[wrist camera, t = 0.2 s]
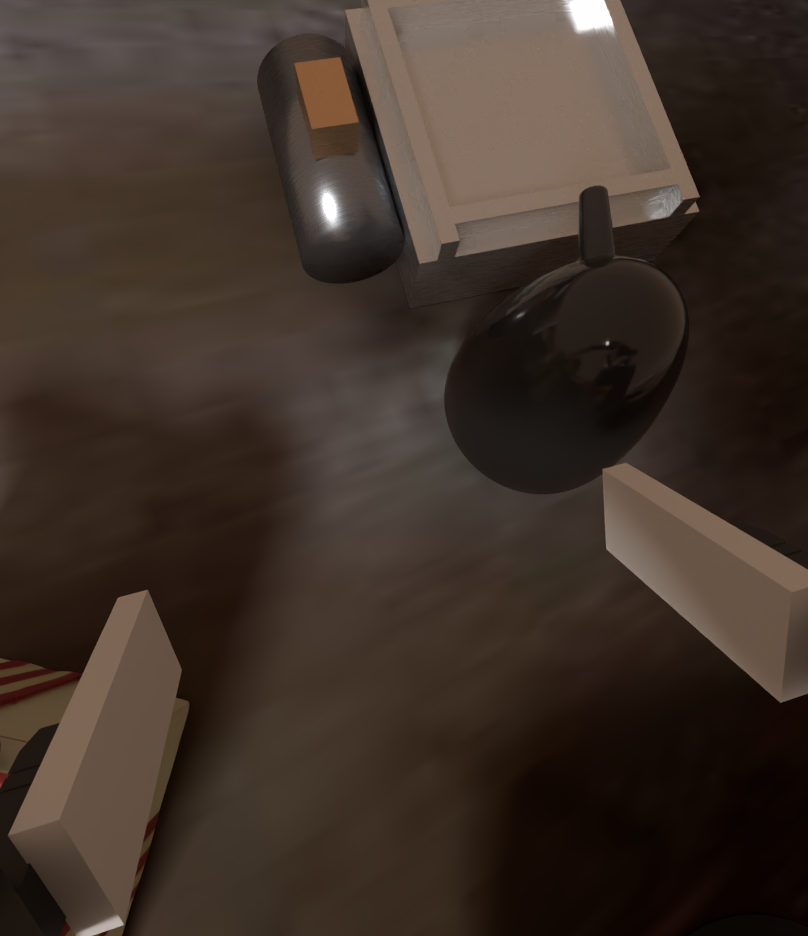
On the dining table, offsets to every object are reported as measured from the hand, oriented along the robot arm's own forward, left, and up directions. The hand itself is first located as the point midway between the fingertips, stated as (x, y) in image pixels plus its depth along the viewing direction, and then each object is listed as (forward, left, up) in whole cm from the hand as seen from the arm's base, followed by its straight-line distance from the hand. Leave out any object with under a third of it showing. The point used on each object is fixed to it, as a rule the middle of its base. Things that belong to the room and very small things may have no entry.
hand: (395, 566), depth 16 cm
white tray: (+24, -12, -16) cm, 31 cm away
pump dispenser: (+7, -11, -16) cm, 21 cm away
